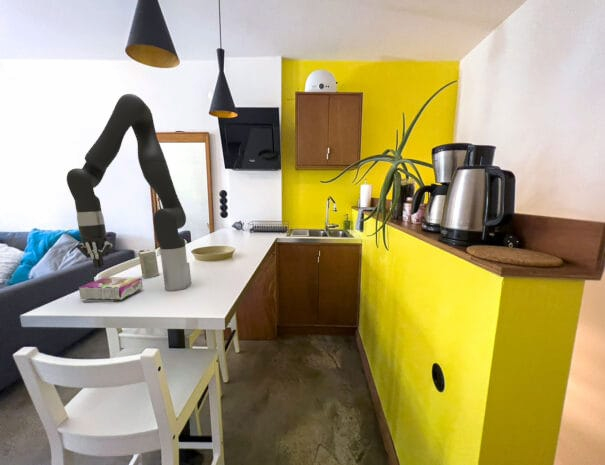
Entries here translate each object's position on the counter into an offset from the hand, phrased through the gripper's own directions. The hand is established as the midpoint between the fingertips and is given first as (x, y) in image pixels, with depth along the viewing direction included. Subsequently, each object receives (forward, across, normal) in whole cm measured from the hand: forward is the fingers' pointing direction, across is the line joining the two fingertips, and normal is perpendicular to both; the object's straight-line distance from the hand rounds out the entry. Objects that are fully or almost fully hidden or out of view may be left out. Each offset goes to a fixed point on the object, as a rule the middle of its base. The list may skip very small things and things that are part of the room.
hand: (99, 267), depth 92 cm
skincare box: (+11, -6, -20) cm, 24 cm away
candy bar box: (+8, +3, +1) cm, 8 cm away
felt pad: (+11, -4, 0) cm, 12 cm away
